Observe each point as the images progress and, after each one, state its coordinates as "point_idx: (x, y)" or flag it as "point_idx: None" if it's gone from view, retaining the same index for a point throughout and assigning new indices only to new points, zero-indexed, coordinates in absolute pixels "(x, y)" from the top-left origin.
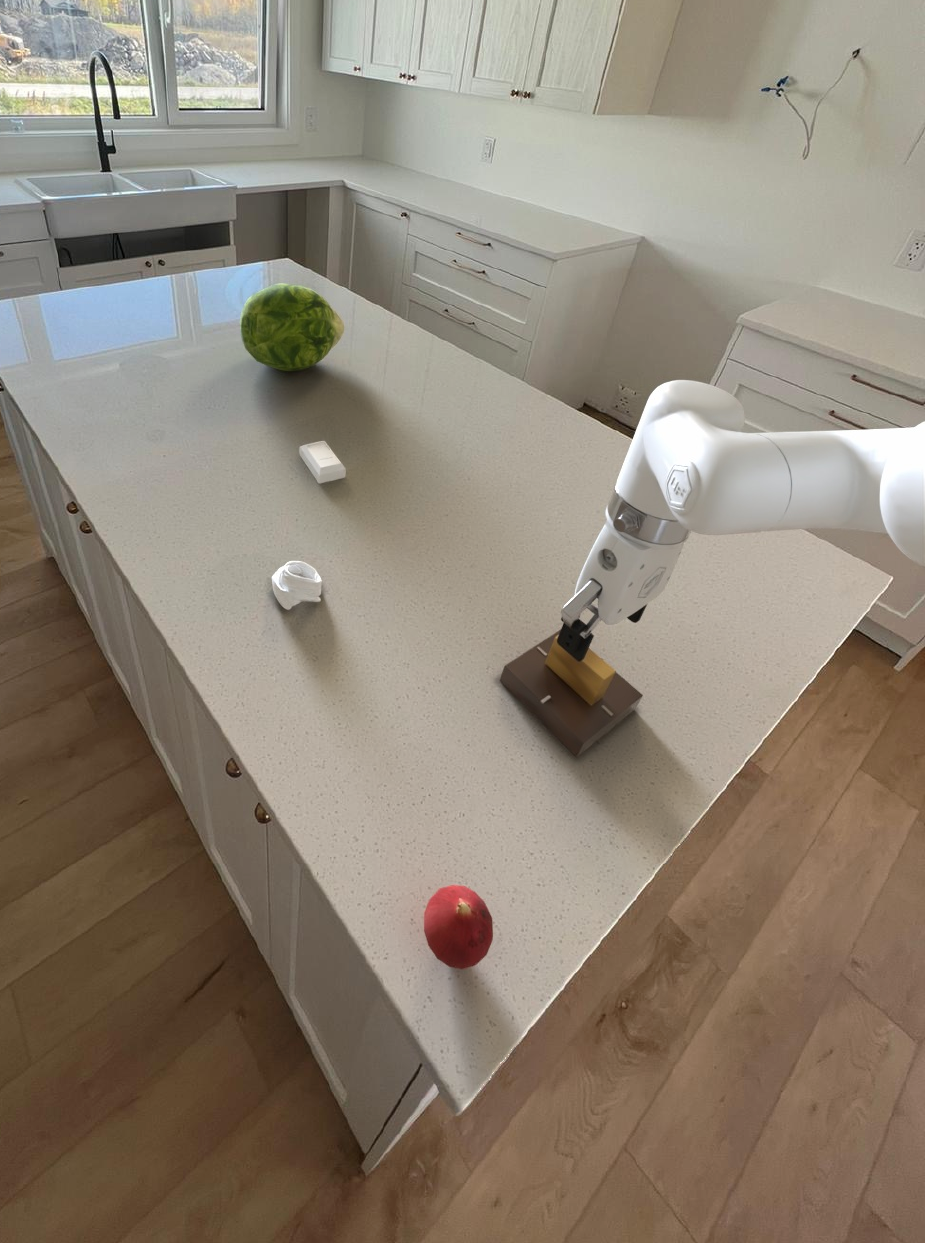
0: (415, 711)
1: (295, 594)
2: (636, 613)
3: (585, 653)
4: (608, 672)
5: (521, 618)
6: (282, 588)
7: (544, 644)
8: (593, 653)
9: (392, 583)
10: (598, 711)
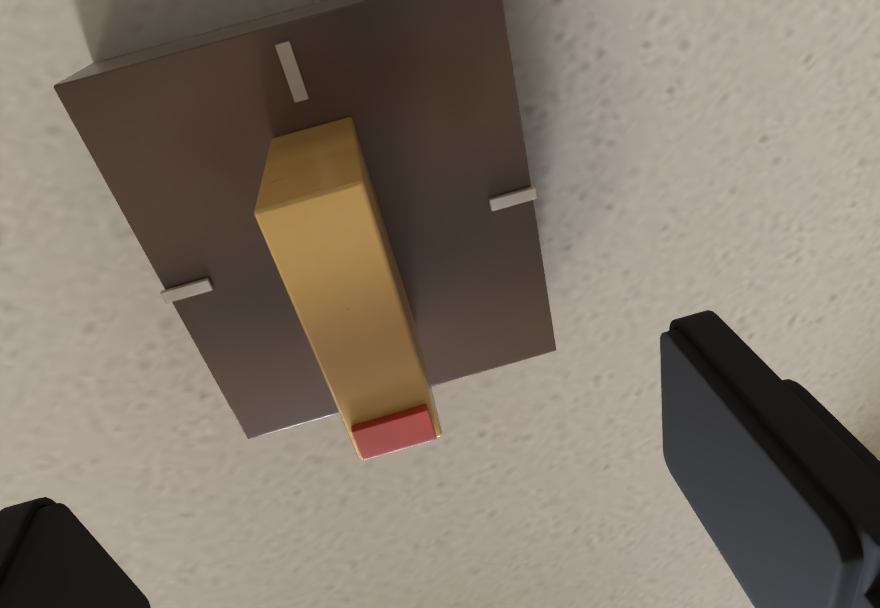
0: (808, 276)
1: None
2: (25, 595)
3: (731, 362)
4: (308, 215)
5: (328, 472)
6: None
7: None
8: (316, 332)
9: (602, 591)
10: (333, 82)
